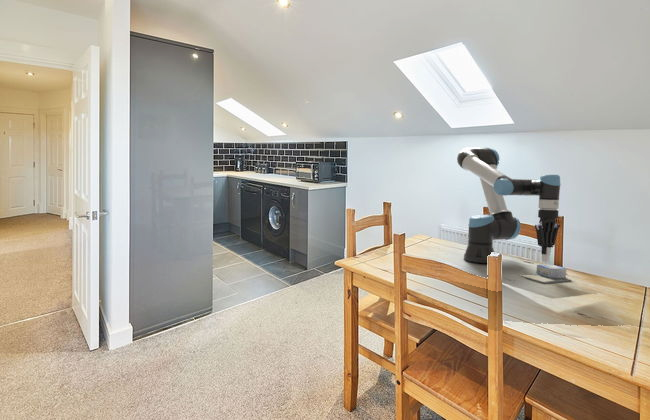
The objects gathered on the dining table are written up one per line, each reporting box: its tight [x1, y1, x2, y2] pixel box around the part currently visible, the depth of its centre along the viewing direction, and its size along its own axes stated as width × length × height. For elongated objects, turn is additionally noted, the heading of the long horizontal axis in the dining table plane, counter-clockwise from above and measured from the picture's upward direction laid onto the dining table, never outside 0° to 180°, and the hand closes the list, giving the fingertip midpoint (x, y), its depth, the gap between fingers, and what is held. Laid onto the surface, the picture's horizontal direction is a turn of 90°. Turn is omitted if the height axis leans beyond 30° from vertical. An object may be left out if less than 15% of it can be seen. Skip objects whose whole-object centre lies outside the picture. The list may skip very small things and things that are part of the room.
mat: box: [519, 274, 573, 285], centre depth 154 cm, size 14×16×1 cm
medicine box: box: [536, 264, 567, 279], centre depth 156 cm, size 8×4×9 cm
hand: (545, 261), depth 153 cm, fingers closed
